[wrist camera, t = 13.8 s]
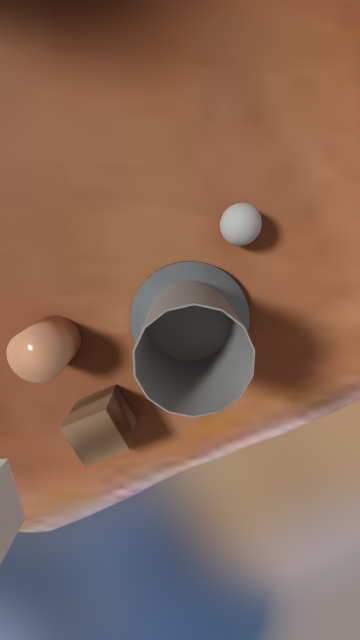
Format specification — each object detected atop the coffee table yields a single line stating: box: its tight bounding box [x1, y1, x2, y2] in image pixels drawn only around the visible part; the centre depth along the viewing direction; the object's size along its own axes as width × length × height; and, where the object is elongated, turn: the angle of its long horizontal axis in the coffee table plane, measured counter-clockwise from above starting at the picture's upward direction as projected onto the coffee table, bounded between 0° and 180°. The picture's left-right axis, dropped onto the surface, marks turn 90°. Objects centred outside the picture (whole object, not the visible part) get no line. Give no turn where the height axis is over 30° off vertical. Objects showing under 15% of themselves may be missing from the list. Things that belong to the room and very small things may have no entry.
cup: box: [133, 279, 255, 418], centre depth 25 cm, size 8×8×10 cm
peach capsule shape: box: [7, 316, 81, 383], centre depth 29 cm, size 5×5×5 cm
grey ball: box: [220, 203, 262, 246], centre depth 26 cm, size 4×4×4 cm
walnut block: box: [60, 385, 137, 467], centre depth 31 cm, size 5×5×5 cm
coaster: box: [130, 261, 250, 343], centre depth 30 cm, size 12×12×1 cm
